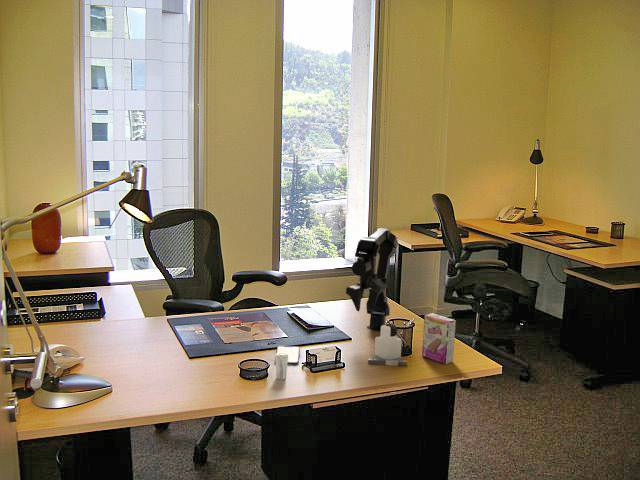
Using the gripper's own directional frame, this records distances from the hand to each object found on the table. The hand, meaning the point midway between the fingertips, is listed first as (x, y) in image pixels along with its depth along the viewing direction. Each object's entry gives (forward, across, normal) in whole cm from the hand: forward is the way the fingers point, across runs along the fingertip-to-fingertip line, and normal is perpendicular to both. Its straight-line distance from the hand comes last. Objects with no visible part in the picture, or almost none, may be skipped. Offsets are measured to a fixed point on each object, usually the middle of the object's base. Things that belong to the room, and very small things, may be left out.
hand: (365, 308), depth 278 cm
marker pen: (+13, -14, -22) cm, 29 cm away
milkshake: (+13, -51, -5) cm, 53 cm away
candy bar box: (+13, +4, -32) cm, 35 cm away
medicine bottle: (+13, -8, -18) cm, 23 cm away
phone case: (+14, -35, +8) cm, 38 cm away
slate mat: (+13, -8, -18) cm, 24 cm away
